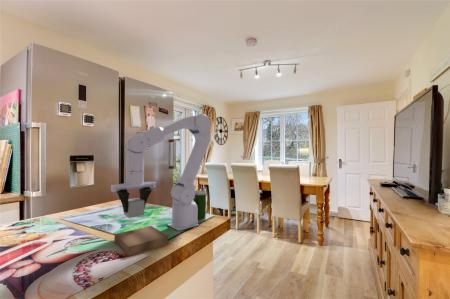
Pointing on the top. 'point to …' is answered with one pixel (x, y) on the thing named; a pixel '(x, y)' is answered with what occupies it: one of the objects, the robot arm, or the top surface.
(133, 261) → the top surface
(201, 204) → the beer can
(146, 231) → the walnut slab
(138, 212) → the grey cube
